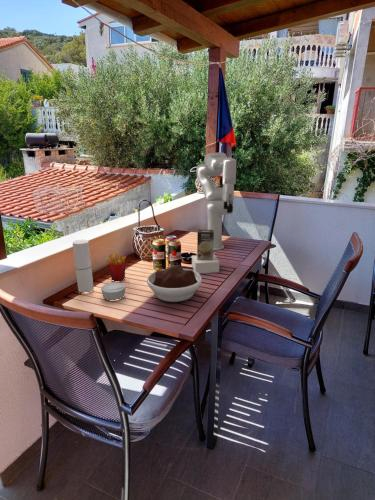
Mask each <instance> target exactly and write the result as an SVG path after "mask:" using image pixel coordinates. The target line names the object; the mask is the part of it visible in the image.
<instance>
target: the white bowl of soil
mask: <svg viewBox="0 0 375 500" xmlns="http://www.w3.org/2000/svg"><path fill="white" fill-rule="evenodd" d="M202 280H203V279H202V275H201V273H197V272H195V271H194V269H193V270H192V269H189V268H183V267H182V266H181V265H180V264H176V265H174V266H171V267H168V268H163V269H157V270H156V271H154V272H152V273H150V274H149V275H148V276H147V279H146V284H147V285H148V287H149V289H150V290H151V291H152V292H153V293H154V295H155V296H156V297H157V299H159V300H161V301H164V302H169V303H179V302H183V301H187V300H189V299H191V298H192V297H193V296H194V295H195V292H196V291H197V289H198V288H200V286H201V284H202Z"/></svg>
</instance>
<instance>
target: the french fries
mask: <svg viewBox="0 0 375 500" xmlns="http://www.w3.org/2000/svg"><path fill="white" fill-rule="evenodd" d="M108 257H109V259H108V258H106V262H107V265H108V269H109V274H110V278H111V281H112V280H114V281H122V280H123V279H124V278H125V279H126V260H125V259H126V258H127V255H124V256H123V254H121V255H119V254H118V253H113V256H112V253H109V256H108ZM117 257H118V258H117ZM125 279H124V280H125ZM124 280H123V281H124ZM123 281H122V282H123Z"/></svg>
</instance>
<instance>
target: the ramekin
mask: <svg viewBox="0 0 375 500" xmlns="http://www.w3.org/2000/svg"><path fill="white" fill-rule="evenodd" d="M126 288H127V287H126V284H124V283H123V282H113V281H112V282H108V283H106V284H102V286H101V289H100V291H101V293H102V296H103V299H104V298H105V299H108V300H116V299H120V298H122V297H123V296H124V295H126ZM124 297H125V296H124ZM124 297H123V298H124ZM123 298H122V299H123ZM105 299H104V300H105Z"/></svg>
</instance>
